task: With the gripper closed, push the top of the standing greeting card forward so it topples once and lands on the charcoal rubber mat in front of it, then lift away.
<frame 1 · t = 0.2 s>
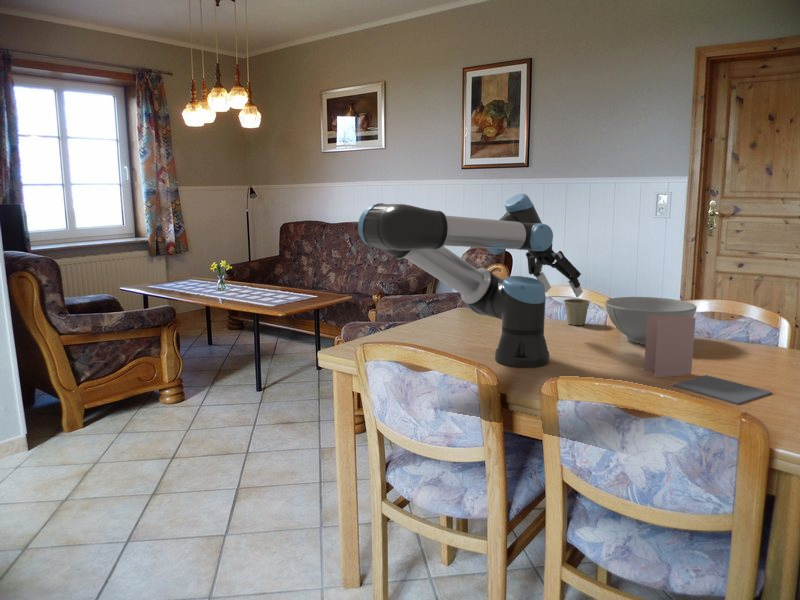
hand: (563, 292, 191), 15 cm above the table, tool tilted 35°, fingers open, 13 cm apart
flower pot: (575, 324, 216), on the table
greeting card: (668, 375, 154), on the table
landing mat: (721, 389, 142), on the table
decorative bowl: (647, 341, 191), on the table
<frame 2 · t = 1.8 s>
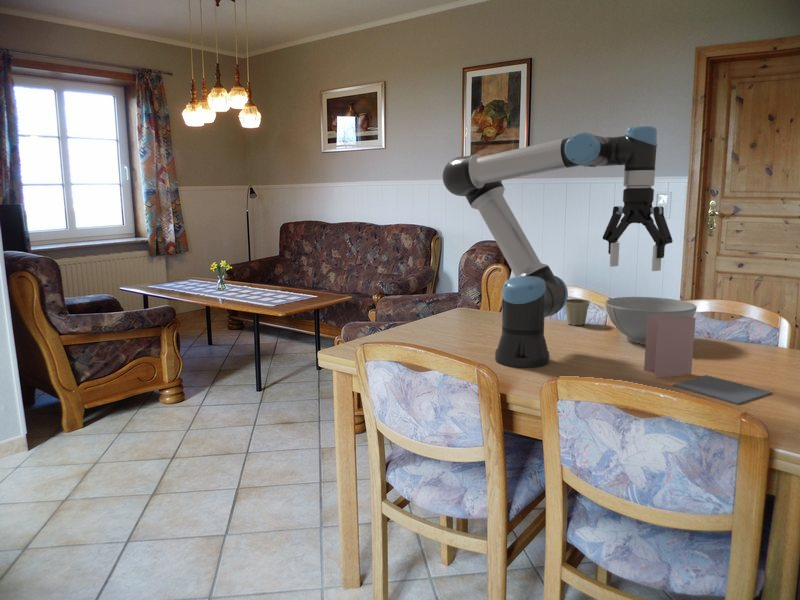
hand: (634, 268, 160), 27 cm above the table, tool pointing down, fingers open, 12 cm apart
nothing on the table moved.
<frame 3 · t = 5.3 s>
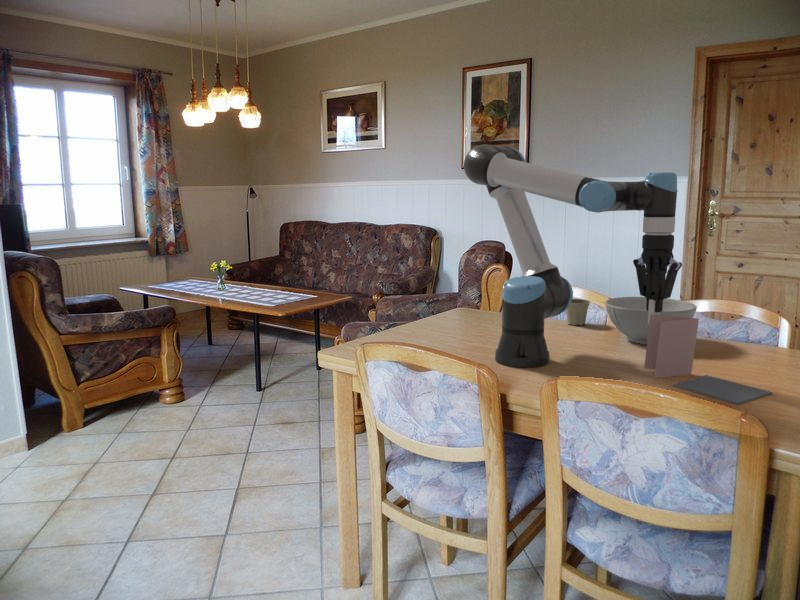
hand: (653, 323, 156), 13 cm above the table, tool pointing down, fingers closed
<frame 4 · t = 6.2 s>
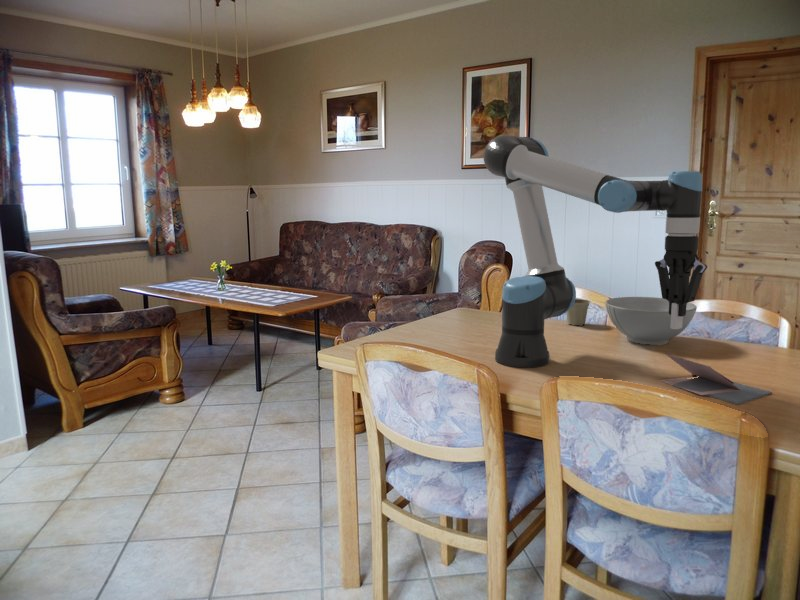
hand: (676, 328, 150), 13 cm above the table, tool pointing down, fingers closed
greeting card: (672, 373, 152), point 1 cm above the table, touching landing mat
everything else where it was.
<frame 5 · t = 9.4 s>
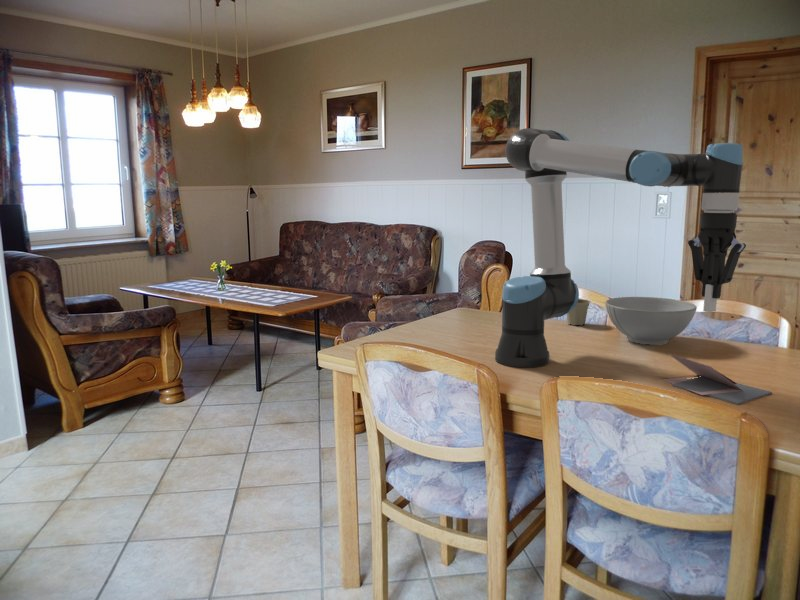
hand: (709, 311, 142), 18 cm above the table, tool pointing down, fingers closed
greeting card: (676, 373, 152), point 1 cm above the table, touching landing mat
everything else where it was.
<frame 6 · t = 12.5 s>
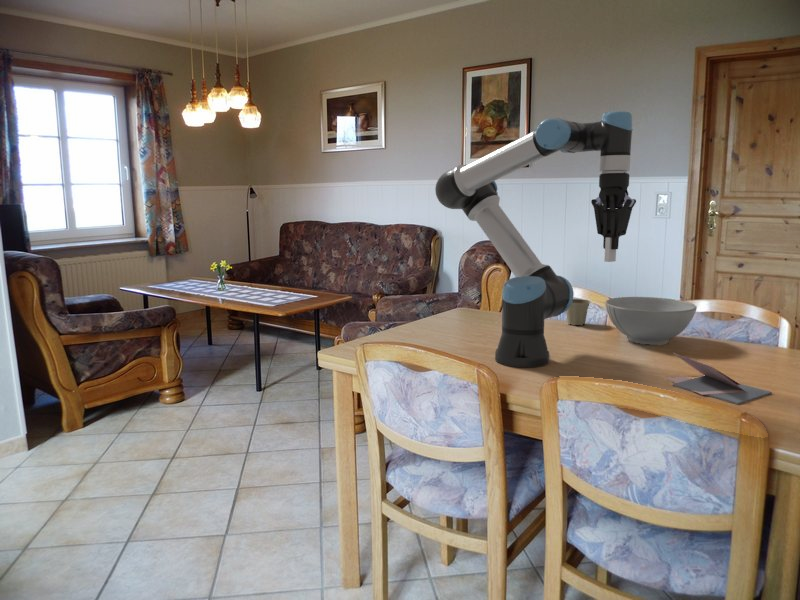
hand: (609, 261, 161), 28 cm above the table, tool pointing down, fingers closed
greeting card: (681, 372, 152), point 1 cm above the table, touching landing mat
everything else where it was.
at the end: greeting card tilted 88°; greeting card touching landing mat, table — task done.
